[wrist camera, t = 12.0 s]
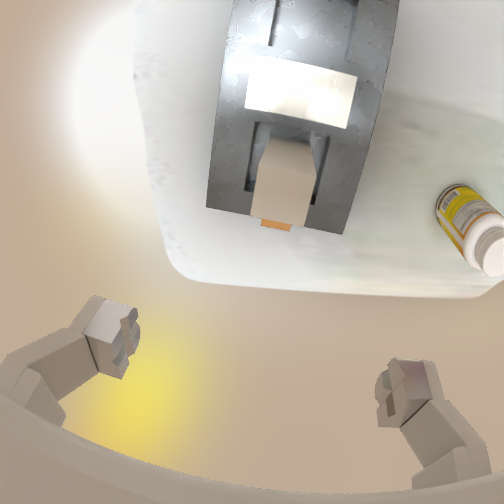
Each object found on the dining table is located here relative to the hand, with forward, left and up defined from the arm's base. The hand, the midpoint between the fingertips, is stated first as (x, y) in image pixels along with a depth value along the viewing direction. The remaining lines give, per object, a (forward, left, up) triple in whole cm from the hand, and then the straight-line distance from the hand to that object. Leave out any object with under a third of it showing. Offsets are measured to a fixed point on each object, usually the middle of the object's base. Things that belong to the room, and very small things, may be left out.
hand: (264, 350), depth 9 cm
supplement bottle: (+1, +19, -23) cm, 30 cm away
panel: (-6, 0, -23) cm, 24 cm away
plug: (0, 0, -23) cm, 23 cm away
